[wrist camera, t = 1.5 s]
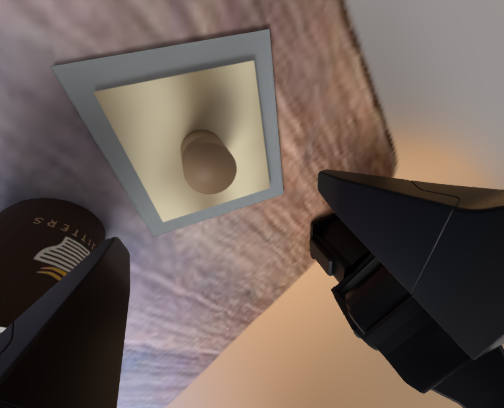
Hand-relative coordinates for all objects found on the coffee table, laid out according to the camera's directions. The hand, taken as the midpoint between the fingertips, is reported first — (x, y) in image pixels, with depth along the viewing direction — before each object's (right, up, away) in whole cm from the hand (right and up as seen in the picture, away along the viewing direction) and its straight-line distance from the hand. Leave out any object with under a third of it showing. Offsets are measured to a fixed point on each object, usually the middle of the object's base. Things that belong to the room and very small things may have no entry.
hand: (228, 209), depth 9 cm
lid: (-3, +4, +7) cm, 9 cm away
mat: (-3, +5, +7) cm, 9 cm away
